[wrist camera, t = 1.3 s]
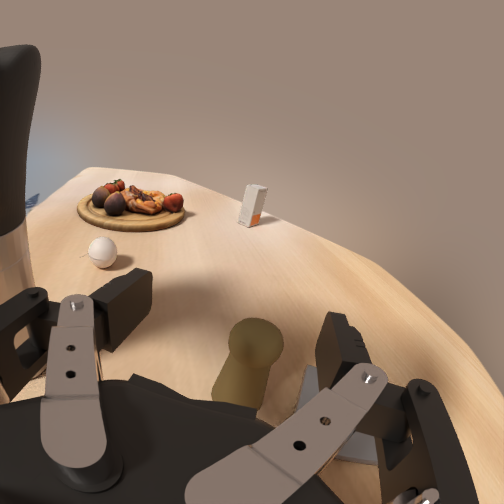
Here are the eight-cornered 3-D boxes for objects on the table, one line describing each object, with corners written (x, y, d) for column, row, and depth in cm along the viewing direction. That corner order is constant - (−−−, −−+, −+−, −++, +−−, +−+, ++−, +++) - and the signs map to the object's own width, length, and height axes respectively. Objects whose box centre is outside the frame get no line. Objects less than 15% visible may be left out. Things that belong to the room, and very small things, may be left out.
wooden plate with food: (198, 209, 87) (203, 185, 84) (153, 246, 58) (156, 210, 54) (117, 190, 88) (119, 167, 85) (55, 215, 59) (55, 185, 56)
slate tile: (284, 445, 24) (287, 442, 23) (305, 369, 35) (307, 364, 35) (399, 467, 21) (404, 464, 20) (395, 394, 32) (399, 390, 32)
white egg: (112, 256, 49) (112, 230, 47) (121, 271, 46) (121, 242, 43) (76, 262, 44) (74, 234, 42) (82, 278, 40) (79, 248, 38)
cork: (239, 370, 33) (261, 302, 28) (272, 401, 29) (305, 337, 25) (200, 388, 29) (214, 319, 24) (234, 425, 25) (259, 362, 21)
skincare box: (248, 228, 81) (258, 189, 76) (237, 223, 82) (246, 184, 78) (258, 224, 86) (268, 187, 81) (247, 219, 87) (256, 183, 83)
